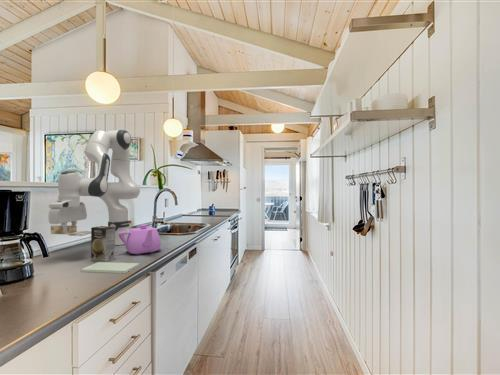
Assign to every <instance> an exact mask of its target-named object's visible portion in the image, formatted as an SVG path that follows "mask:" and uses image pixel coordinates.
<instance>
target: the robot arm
mask: <svg viewBox="0 0 500 375" xmlns="http://www.w3.org/2000/svg"><path fill="white" fill-rule="evenodd" d="M131 136H132V135H131V134H130V133H129V132H128V131H127V130H124V129H119V130H118V129H117V130H115V129H113V130H106V131H105V130H101V129H99V130H96V131H94V132H93V134H91V136H90V138H89V139H88V141H87V143H86V146H85V148H84V154H85V156H86V158H87V159H88V160H90V161H91V162H93V163H95V164H97V165H98V166H97V172H96V176H94V177H91V178H90V177H83V176H82V175H80V174H79V172H78V171H77V170H67V171H61V172H60V173H59V176H58V183H57V187H58V188H57V190H58V192H59V193H58V196H57V197H58V199H56V200H54V201H52V202H50V203H49V204H48V208H49V210H48V223H49V224H50V225H58V224H59V225H62V227H63V231H64V232H67V231H69V228H68V227H67V226H68V223H71V224H70V226H77V224H78V221H82V220H86V219H87V216H88V214H87V208H86V204H85V203H84V202H83V201H80V200H81V199H80V197H97V198H99V199H101V201H103V202H104V204H105V205H106V208H107V212H108V221H107V227H115V246H121V245H126V244H125V243H124V242H123V241H122V240H121V239H120V237H119V233H120V232H125V231H126V232H129V231H130V230H131V229H133V228H132V227H131V225H130V224H133V223H132V220H129V209H128V208H127V207H126V205H123V204H122V203H120V200H133V199H137V198H139V196H140V192H141V190H140V186H139V185H138V183H136V182H135V181H134V180H133V178H132V176H131V173H130V172H131V171H130V169H131V168H130V164H131V155H130V149H129V148H130V145H131V143H132V137H131ZM110 149H111V151H112V152H111V153H112V154H111V157H110V156H109V153H108V152H109V150H110ZM109 173H110V174H111V175H112V176H113V177H115V178H117V179H118V182H112V181H111V182H108V179H109ZM127 236H128V234H124V238H125V240H127Z"/></svg>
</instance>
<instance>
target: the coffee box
mask: <svg viewBox="0 0 500 375" xmlns="http://www.w3.org/2000/svg"><path fill="white" fill-rule="evenodd" d="M90 229H91V230H90V231H91V234H90V238H91V240H90V249H91V250H90V252H91V253H90V254H91V256H90V260H91V261H94V262H110V261H113V260H115V259H116V245H115V227H108V225H107V226H104V225H103V226H102V225H101V226H92V227H91V228H90Z"/></svg>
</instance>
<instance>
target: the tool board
mask: <svg viewBox="0 0 500 375" xmlns="http://www.w3.org/2000/svg"><path fill="white" fill-rule="evenodd" d="M139 266H140V263H138V262H113V261H112V262H110V261H107V262H102V261H96V262H95V263H93V264H91V265H89V266H88V265H87V266H85V267H83V268H80V273H101V274H102V273H106V274H127V273H129V272H130V271H133V270H134V269H136V268H137V267H139ZM128 271H129V272H128ZM126 272H127V273H126Z"/></svg>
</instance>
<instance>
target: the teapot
mask: <svg viewBox="0 0 500 375" xmlns="http://www.w3.org/2000/svg"><path fill="white" fill-rule="evenodd" d="M124 234H128V236H127V240H125V238H124ZM119 237H120V239H121V240H122V241H123V242H124V243H125V244H124V245H125V248H126V250H127V252H128V253H129V254H132V255H138V256H139V255H142V254H147V253H151V254H152V253H155V252H157V251H159V250H160V248H161V247H162V244H161V243H162V241H161V237H160V234H159V232H158V229H157V228H156V227H153V226H148V224H145V223H144V224H140V225H139V227H136V228H135V227H134V228H132V229H131V230H130V231H129V232H126V231H125V232H120V233H119Z"/></svg>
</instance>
